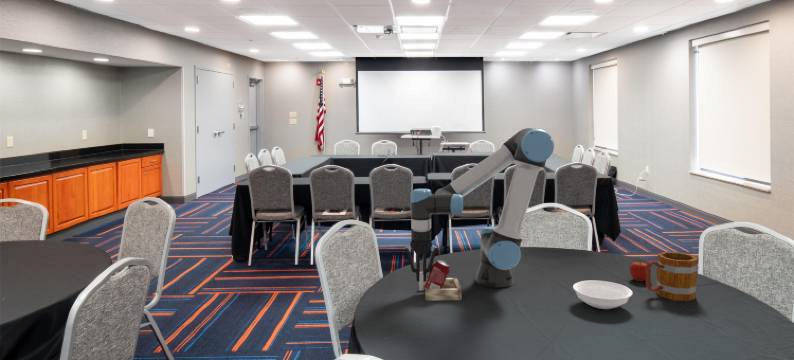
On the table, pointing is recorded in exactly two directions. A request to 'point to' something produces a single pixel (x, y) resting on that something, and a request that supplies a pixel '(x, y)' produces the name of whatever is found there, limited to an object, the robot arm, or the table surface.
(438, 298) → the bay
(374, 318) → the table surface
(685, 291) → the mug
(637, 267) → the apple
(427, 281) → the soda can
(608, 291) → the bowl
